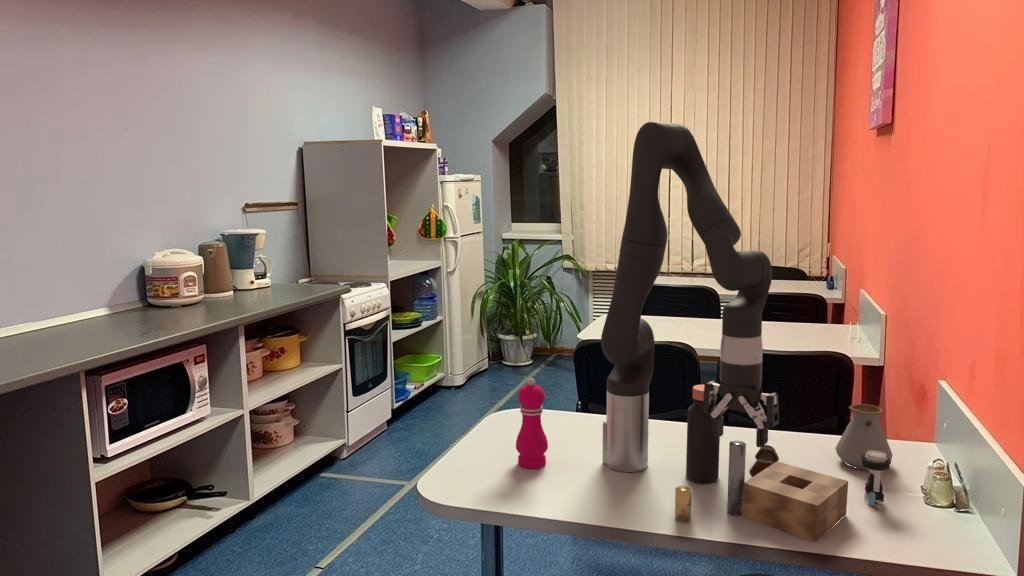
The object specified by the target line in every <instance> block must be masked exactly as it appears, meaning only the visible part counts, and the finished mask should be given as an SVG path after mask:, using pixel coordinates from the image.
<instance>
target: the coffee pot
mask: <svg viewBox="0 0 1024 576" xmlns="http://www.w3.org/2000/svg"><path fill="white" fill-rule="evenodd" d="M848 409H849V410H850V412H851V413H852V417H851V419H850V420H849V422H848V425H847V426H846V428H845V430H844V432H843V433H842V435H841V437H840V439H838V440H839V441H838V442H837V444H836V446H835V452H836V454H837V456H838V457H839V459H840V460H842V462H843V463H844V462H846V463H847V464H849V465H851V466H853V467H856V468H858V469H857V470H860V469H862V470H861V471H868V472H870V470H868V469H867V468H866V467H864V466H863V465H862V460H861V456H862V455H863V454H866V452H867V451H871V450H874V451H880V452H883V453H885V454H886V457H888V458H889V459H891V460H893V451H892V449H891V447H890V444H889V442H888V440H887V436H886V434H885V432H884V429H883V427H882V424H881V421H880V419H879V418H880V416H881V414H882V413H883V409H882V408H881V407H879V406H876V405H872V404H866V403H855V404H852V405H850V406H848ZM856 468H855V469H856Z"/></svg>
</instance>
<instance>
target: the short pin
mask: <svg viewBox="0 0 1024 576" xmlns="http://www.w3.org/2000/svg"><path fill="white" fill-rule="evenodd" d="M692 494H693V489H692V488H691V487H689V486H687V485H677V486H676V487H675V494H674V495H675V496H674V499H675V500H674V520H675V521H676V522H677V523H678V522H679V523H681V524H682V523H683V524H685V523H686V524H687V523H689V522H691V521H692V499H693V498H692Z"/></svg>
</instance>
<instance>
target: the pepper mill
mask: <svg viewBox="0 0 1024 576" xmlns="http://www.w3.org/2000/svg"><path fill="white" fill-rule="evenodd" d="M526 382H527V384H525V385H522V387H521V388H520V389H519V390H518V393H517V400H518V403H519V404H521V405H520V406H519V407H520V410H519V411H520V414H521V416H522V421H521V426H520V430H519V431H518V434H517V437H516V440H515V449H516V451H517V452H518V454H519V455H517V463H518V466H519V467H520V468H523V469H525V470H538V469H541V468H543V467H546V466H545V465H546V464H547V456H546V455H545V454H546V452H547V451H548V449H549V446H548V445H549V444H548V438H547V435H546V433H545V431H544V428H543V424H542V420H541V417H542V413H543V411H544V410H543V405H542V404H543V403H544V402H545V399H546V396H545V394H546V393H545V391H544V389H543V388H542V387H541V386H540V385H537V384H536V379H534V378H533V377H530V378H528V379H527V381H526Z"/></svg>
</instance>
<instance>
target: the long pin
mask: <svg viewBox="0 0 1024 576" xmlns="http://www.w3.org/2000/svg"><path fill="white" fill-rule="evenodd" d="M728 446H729V448H728V450H729V451H728V452H729V453H728V473H727V474H728V475H727V477H728V479H727V480H728V481H727V482H728V483H727V504H726V513H727V514H728V515H730V516H732V517H742V512H743V487H744V482H746V481H745V480H746V478H745V475H746V458H747V457H746V456H747V455H746V453H747V443H746V442H744V441H741V440H730V441H729V444H728Z"/></svg>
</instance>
